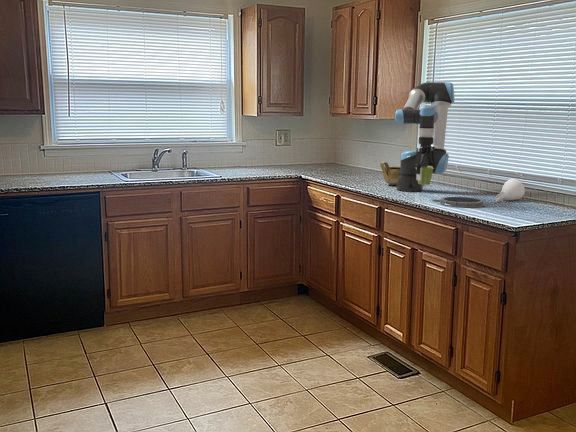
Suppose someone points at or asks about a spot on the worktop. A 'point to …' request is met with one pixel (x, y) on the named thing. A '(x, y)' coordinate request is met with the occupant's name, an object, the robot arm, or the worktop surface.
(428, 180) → the plant pot
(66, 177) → the worktop surface
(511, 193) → the white teardrop lump
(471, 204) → the saucer
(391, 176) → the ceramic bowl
